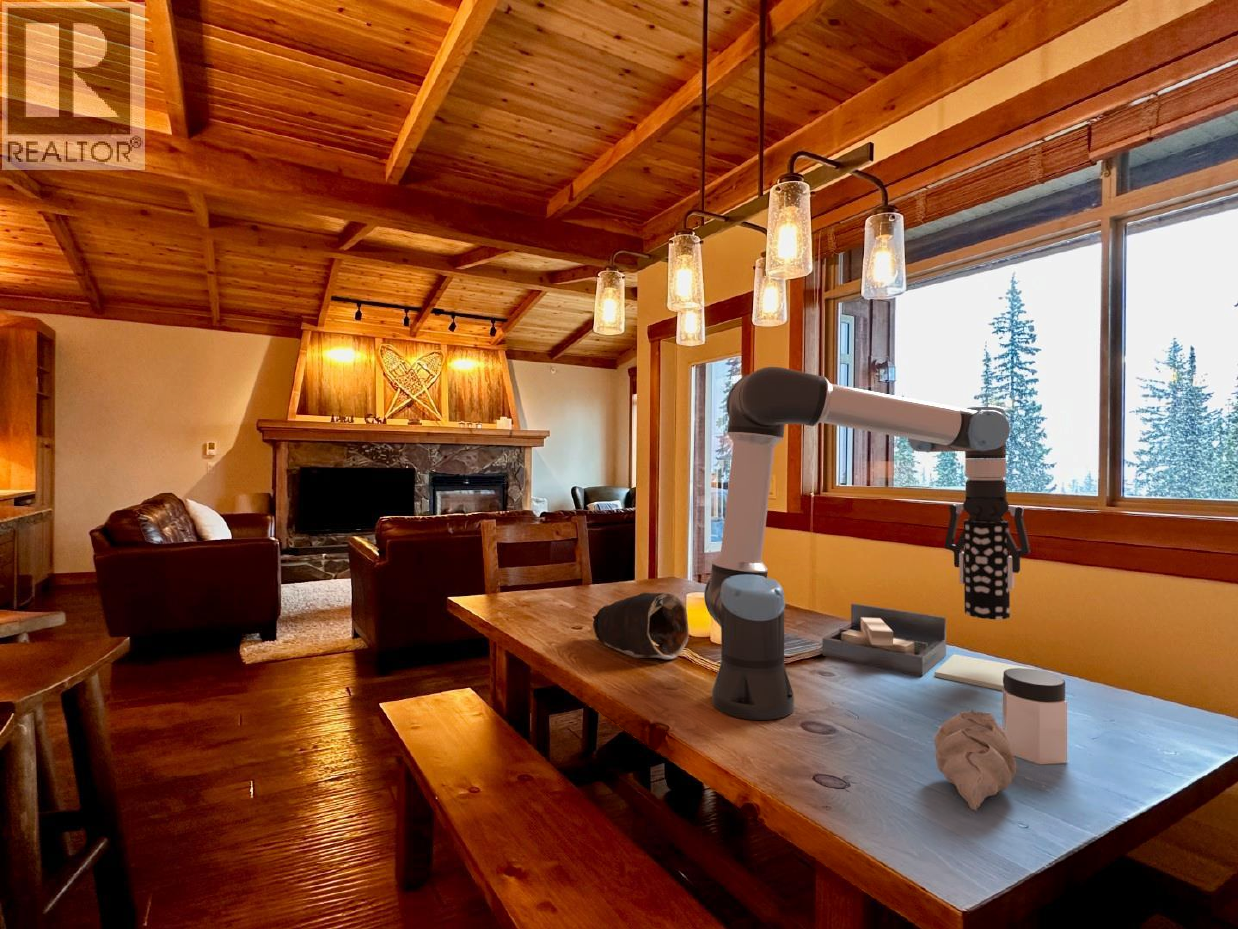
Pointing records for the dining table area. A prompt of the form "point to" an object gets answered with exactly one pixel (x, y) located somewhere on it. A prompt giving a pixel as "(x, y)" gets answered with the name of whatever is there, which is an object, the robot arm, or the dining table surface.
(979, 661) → the mat
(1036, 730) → the jar
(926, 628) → the tray
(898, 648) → the offcut middle
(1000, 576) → the spotted tube
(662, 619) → the clay pot
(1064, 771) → the dining table surface
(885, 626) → the offcut top
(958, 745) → the seashell
